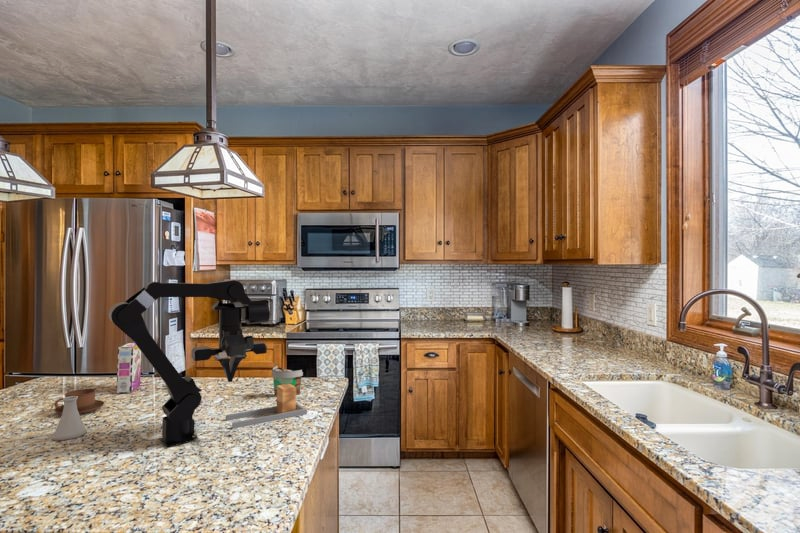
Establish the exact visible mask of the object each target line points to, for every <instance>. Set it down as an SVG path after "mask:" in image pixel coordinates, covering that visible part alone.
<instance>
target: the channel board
mask: <svg viewBox="0 0 800 533" xmlns="http://www.w3.org/2000/svg"><path fill="white" fill-rule="evenodd" d="M307 409H308V408H306V407H304V406H303V405H301V404H300V403H298V402H296V411H291V412H286V413H280V414H278V413H277V405H275V406H270V407H269V406H268V407H264V408H258V409H253V410H246V411H243V412H242V411H241V412H235V413H230V414H226V415H225V422H229V421H234V420H237V421H234V422H232V423H231V424H232V425H231V429H232V430H235V429H239V428H244V427H249V426H253V425H254V426H255V425H259V424H265V423H269V422H275V421H279V420H280V421H281V420H284V419H285V420H286V419H289V418H295V417H299V416H300V417H301V416H306V415H308V410H307ZM271 413H275V414H271ZM265 414H270V415H265ZM260 415H265V416H260ZM255 416H256V417H255ZM257 416H258V417H257ZM259 416H260V417H259ZM250 417H255V418H250ZM244 418H245V419H244ZM246 418H250V419H246ZM238 419H239V421H238ZM240 419H243V420H240Z"/></svg>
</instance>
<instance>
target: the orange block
mask: <svg viewBox="0 0 800 533" xmlns="http://www.w3.org/2000/svg"><path fill="white" fill-rule="evenodd" d="M296 403H297V395H296V387H294V386H293V385H291V384H284V385H278V386H277V395H276V406H277V412H276V414H280V413H286V412H291V411H296V410H297V409H296Z"/></svg>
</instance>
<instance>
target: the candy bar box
mask: <svg viewBox="0 0 800 533" xmlns="http://www.w3.org/2000/svg"><path fill="white" fill-rule="evenodd" d="M116 366H117V367H116V368H117V369H116V390H115V394H117V395H119V394H123V395H124V394H132V393H133V392H134V391H135V390H136V389H138V388H139V387H140V386H141V371H142V369H141V368H142V352H141V351H140V349H139V348H138V347H137V345H136V344H135V343H134V342H130V343H129V342H128V343H126V344H123V345H121V346H119V347H118V348H117V365H116Z"/></svg>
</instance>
